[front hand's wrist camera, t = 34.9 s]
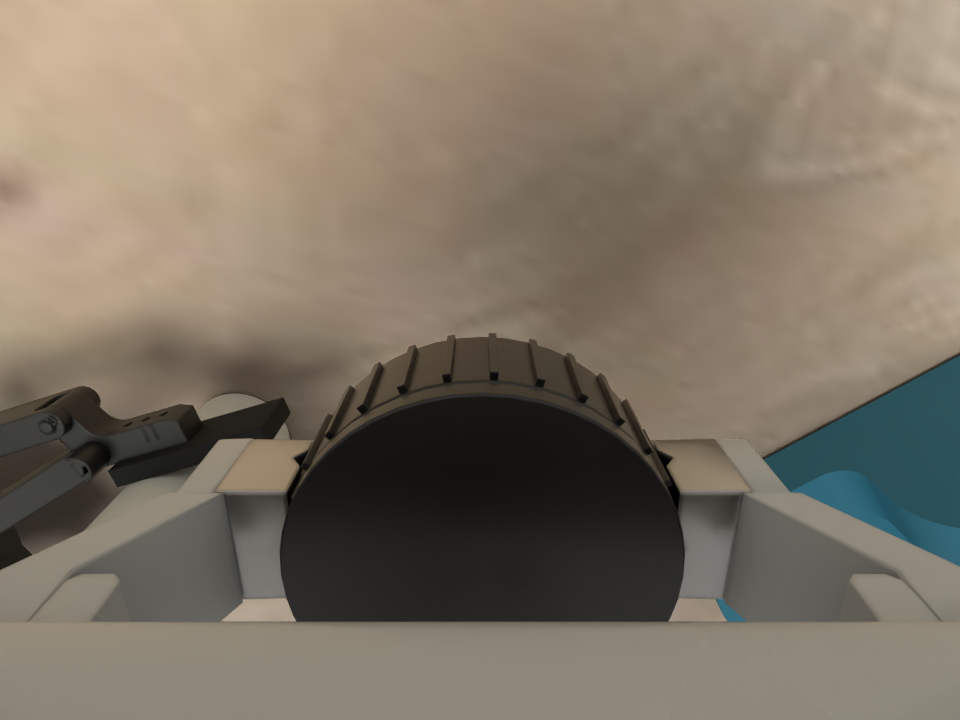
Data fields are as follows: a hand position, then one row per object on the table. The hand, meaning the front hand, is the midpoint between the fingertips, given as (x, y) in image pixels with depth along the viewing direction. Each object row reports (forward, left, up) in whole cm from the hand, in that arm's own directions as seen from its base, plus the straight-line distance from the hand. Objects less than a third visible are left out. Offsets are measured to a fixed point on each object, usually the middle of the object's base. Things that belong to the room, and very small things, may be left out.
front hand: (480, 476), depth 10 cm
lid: (0, 0, +2) cm, 2 cm away
